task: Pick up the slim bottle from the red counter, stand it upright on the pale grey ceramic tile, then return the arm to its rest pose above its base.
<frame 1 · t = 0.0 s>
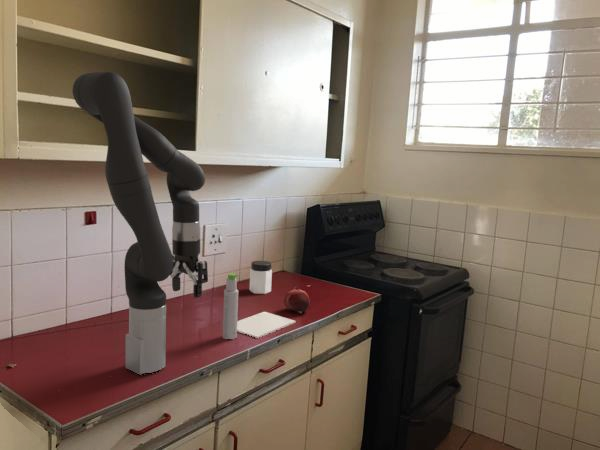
hand: (186, 293, 140), 17 cm above the counter, tool pointing down, fingers open, 8 cm apart
fruit: (296, 311, 184), on the counter
bottle: (229, 337, 156), on the counter
tile: (261, 324, 168), on the counter
jar: (260, 291, 207), on the counter
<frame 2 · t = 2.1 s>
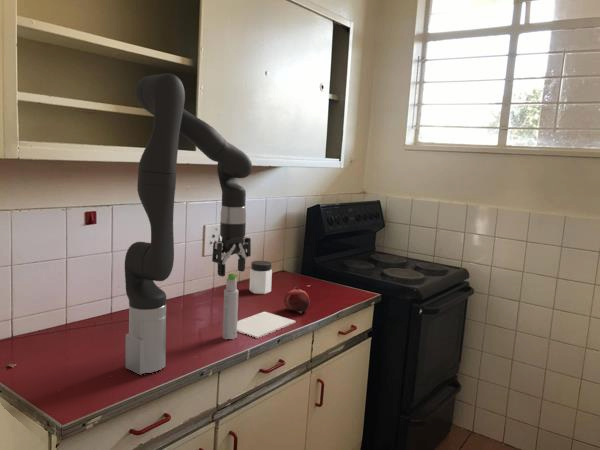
hand: (231, 273, 153), 20 cm above the counter, tool pointing down, fingers open, 8 cm apart
nothing on the counter moved.
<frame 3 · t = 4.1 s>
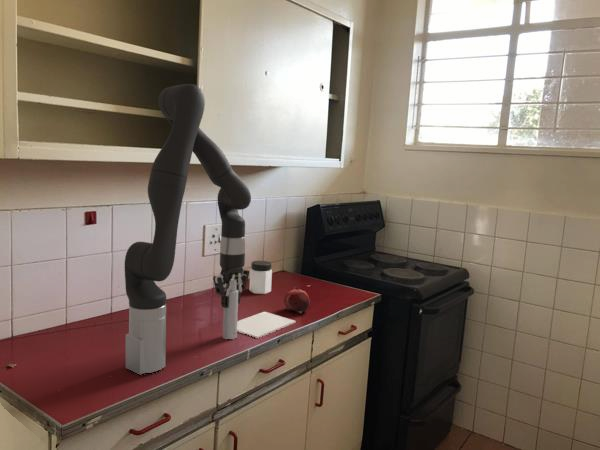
hand: (230, 305, 154), 10 cm above the counter, tool pointing down, fingers closed on bottle, 4 cm apart
bottle: (229, 337, 156), on the counter, touching gripper
everything else where it was.
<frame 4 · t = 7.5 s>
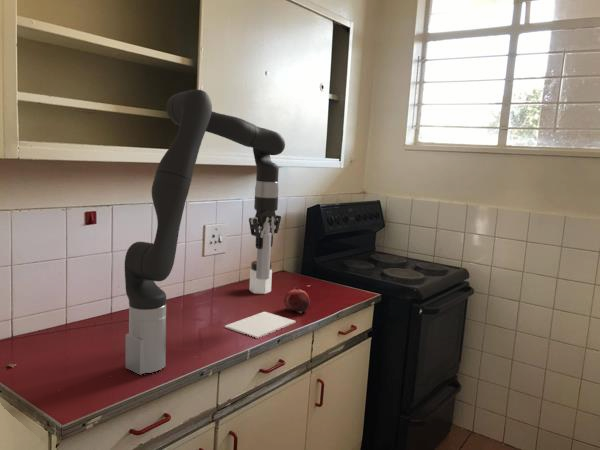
hand: (264, 247, 164), 26 cm above the counter, tool pointing down, fingers closed on bottle, 4 cm apart
bottle: (262, 278, 165), point 16 cm above the counter, touching gripper
everything else where it was.
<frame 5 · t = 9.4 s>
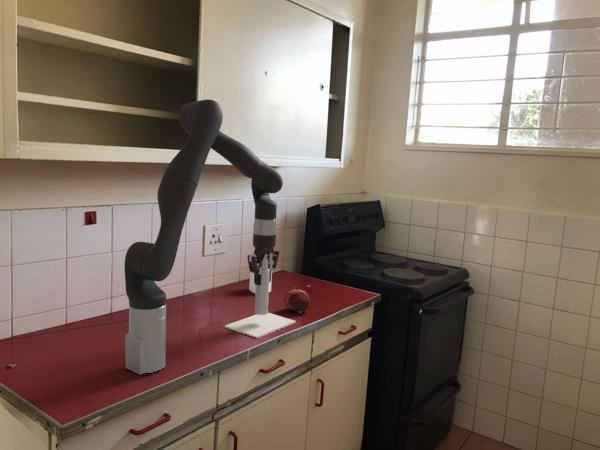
hand: (262, 283, 166), 14 cm above the counter, tool pointing down, fingers closed on bottle, 4 cm apart
bottle: (261, 313, 167), point 4 cm above the counter, touching gripper
everything else where it was.
when the fingers open (12 cm above the counter, at t = 10.8 s): bottle drops 1 cm, resting on tile.
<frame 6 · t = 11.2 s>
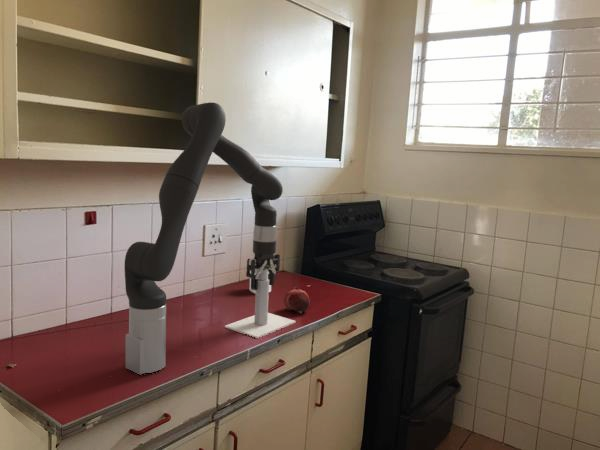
hand: (262, 287, 166), 13 cm above the counter, tool pointing down, fingers open, 8 cm apart
bottle: (260, 323, 168), resting on tile
everything else where it was.
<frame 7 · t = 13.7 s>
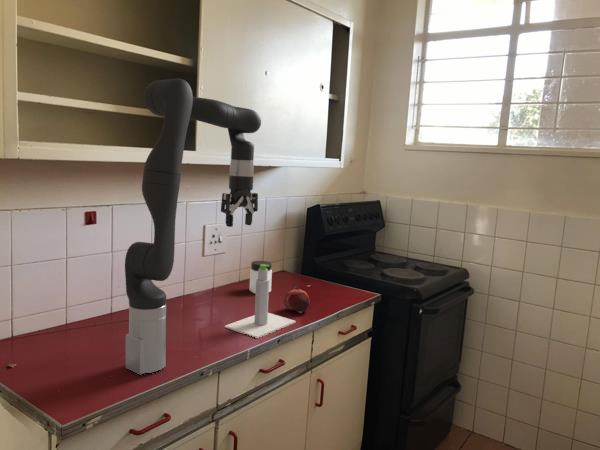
hand: (239, 225, 160), 34 cm above the counter, tool pointing down, fingers open, 8 cm apart
nothing on the counter moved.
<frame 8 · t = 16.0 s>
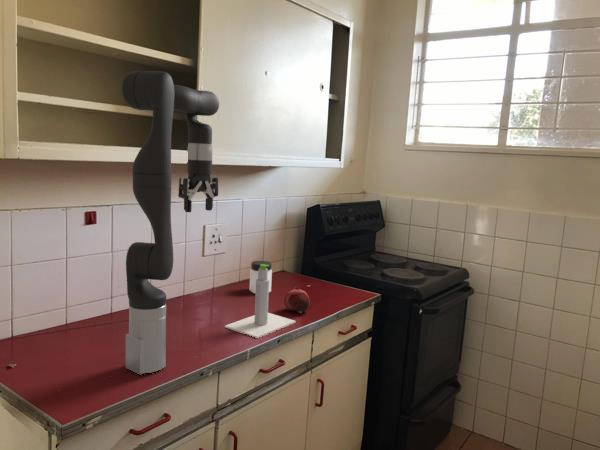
hand: (198, 211, 156), 38 cm above the counter, tool pointing down, fingers open, 8 cm apart
nothing on the counter moved.
at the end: bottle inside the target area on the tile (0.1 cm from its centre), point 0.4 cm above the tile's base; bottle tilted 0°; the gripper is holding nothing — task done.
